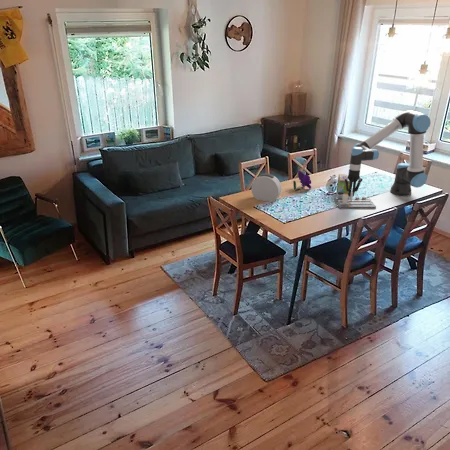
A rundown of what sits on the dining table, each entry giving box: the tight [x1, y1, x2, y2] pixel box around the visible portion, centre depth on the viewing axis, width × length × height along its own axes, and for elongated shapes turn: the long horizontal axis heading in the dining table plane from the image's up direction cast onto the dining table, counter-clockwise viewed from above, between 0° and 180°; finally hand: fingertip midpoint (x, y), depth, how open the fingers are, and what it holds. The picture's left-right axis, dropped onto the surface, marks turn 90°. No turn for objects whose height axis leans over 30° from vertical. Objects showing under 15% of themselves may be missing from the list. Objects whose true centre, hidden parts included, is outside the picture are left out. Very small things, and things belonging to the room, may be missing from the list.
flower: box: [292, 170, 312, 192], centre depth 333 cm, size 15×15×14 cm
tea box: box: [336, 173, 353, 199], centre depth 321 cm, size 15×10×15 cm, turn 168°
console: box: [334, 196, 377, 210], centre depth 307 cm, size 26×15×3 cm, turn 89°
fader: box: [342, 194, 348, 203], centre depth 306 cm, size 3×3×7 cm
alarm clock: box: [251, 173, 283, 203], centre depth 314 cm, size 21×8×20 cm, turn 65°
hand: (350, 200), depth 307 cm, fingers closed
